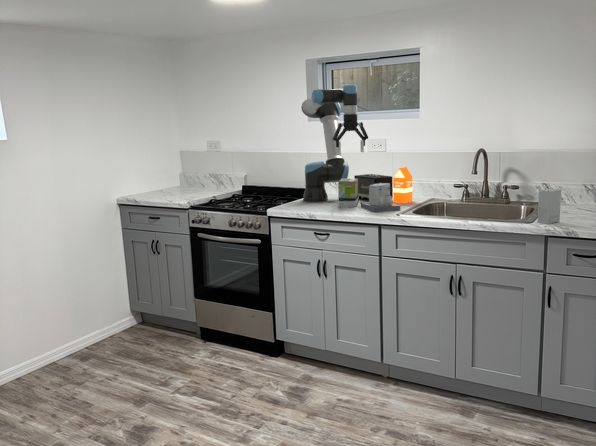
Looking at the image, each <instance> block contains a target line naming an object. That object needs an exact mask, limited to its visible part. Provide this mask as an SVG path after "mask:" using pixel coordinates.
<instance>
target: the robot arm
mask: <svg viewBox="0 0 596 446" xmlns="http://www.w3.org/2000/svg"><path fill="white" fill-rule="evenodd" d="M340 103H341V104H343V111H342V112H343V123H341V122H338V123H337V121H338V120H339V118H340V116H341V114H342V113H341V104H340ZM300 108H301V112H302V114H304V115H305V116H306V117H309V118H311V119H319V121H320V123H321V124H322V127H323V128H322V129H323V134H324V142H325V148H326V149H325V150H326V156H327V159H326V161H325V162H324V161H313V162H309V163H307V164H305V166H304V177H305V179H304V180H305V181H304V182H305V188H304V192H303V197H302V200H303V202H305V203H306V202H307V203H321V202H327V201H329V199H328V193H327V190H326V187H325V185H326V184H327V183H338V181H340V180H341V179H349V170H350V167H349V164H348V162H347V161H346V162H345V158H344V157H342V152H341V151H342V150H341V147H342V146H341V141H340V140H341V139H342V138H343V137H344V135H345V134H346V132H350V131H352V132H355V133H356V134H357V135H358V137H359V138H360V139H361V140H360V153H365V152H364V150H365V149H364V147H365V146H366V140H368V139H369V135H368V132H367V131H366V129H365V127H364V123H363V121H360V122H358V85H356V84H354V83H353V84H343V86H342V88H333V89H332V88H330V89H329V88H326V89H322V88H321V89H319V88H317V89H314V90H312V91H311V97H309V98H307V99H305V100H304V101H303V102H302V103H301V107H300ZM357 127H359V128H357ZM342 128H343V129H342ZM341 129H342V131H341ZM359 129H360V130H361V131H360V130H359Z"/></svg>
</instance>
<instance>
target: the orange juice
mask: <svg viewBox="0 0 596 446" xmlns="http://www.w3.org/2000/svg"><path fill="white" fill-rule="evenodd" d="M392 188H393V203H394V202H395V203H394V204H408V202H409V203H411V202H413V176H412V174H411V172H410V171H409V169H408V167H407V166H403V167H399V168H398V170H397V171H396V173H395V174H394V176H392Z"/></svg>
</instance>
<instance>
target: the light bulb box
mask: <svg viewBox="0 0 596 446" xmlns="http://www.w3.org/2000/svg"><path fill="white" fill-rule="evenodd" d="M389 196H390V184H389V183H378V184H373V185H369V199H368V202H369V204H370V205H380V197H383V204H387V203H389Z"/></svg>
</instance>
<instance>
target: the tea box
mask: <svg viewBox="0 0 596 446" xmlns="http://www.w3.org/2000/svg"><path fill="white" fill-rule="evenodd" d="M337 183H338V187H337V188H338V192H337V193H338V198H337V200H338V201H337V203H338V207H339V208H354V207H356V206H357V205H358V203H359V198H358V179H354V178H347V179H341V180H340V181H338V182H337Z"/></svg>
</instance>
